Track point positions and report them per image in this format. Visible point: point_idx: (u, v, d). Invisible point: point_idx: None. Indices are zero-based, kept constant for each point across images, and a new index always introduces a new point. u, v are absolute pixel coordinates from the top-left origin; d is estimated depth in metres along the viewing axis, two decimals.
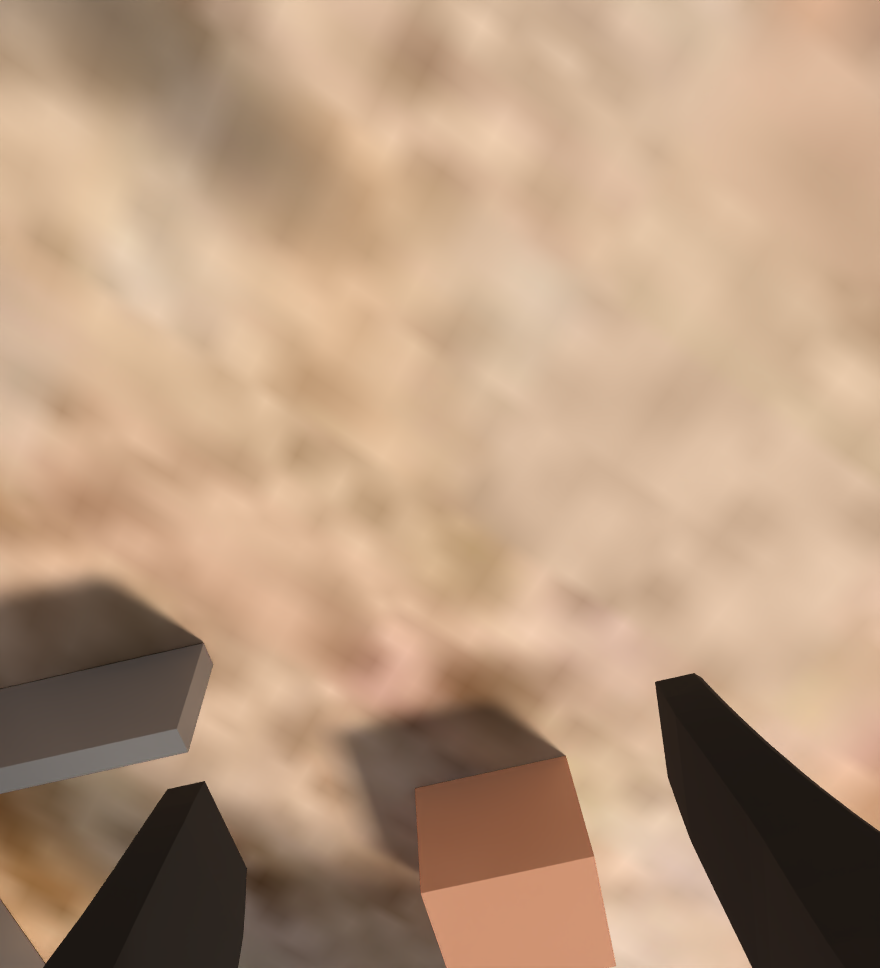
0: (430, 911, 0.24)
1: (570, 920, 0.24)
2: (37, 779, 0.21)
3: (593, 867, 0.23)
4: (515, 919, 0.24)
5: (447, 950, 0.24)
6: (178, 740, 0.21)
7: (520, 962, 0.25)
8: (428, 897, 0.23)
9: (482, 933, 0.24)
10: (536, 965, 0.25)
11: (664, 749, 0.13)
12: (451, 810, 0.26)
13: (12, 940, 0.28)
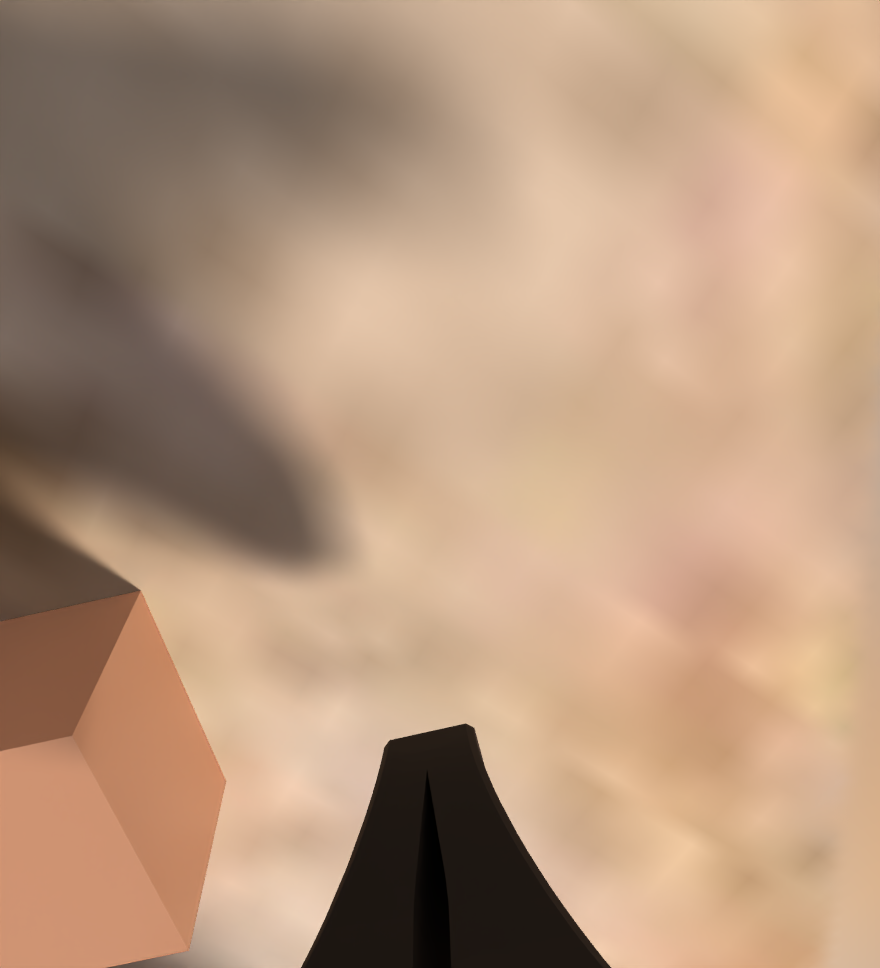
0: None
1: (72, 865, 0.13)
2: None
3: (77, 758, 0.12)
4: None
5: None
6: None
7: (6, 943, 0.14)
8: None
9: None
10: (38, 947, 0.14)
11: None
12: None
13: None
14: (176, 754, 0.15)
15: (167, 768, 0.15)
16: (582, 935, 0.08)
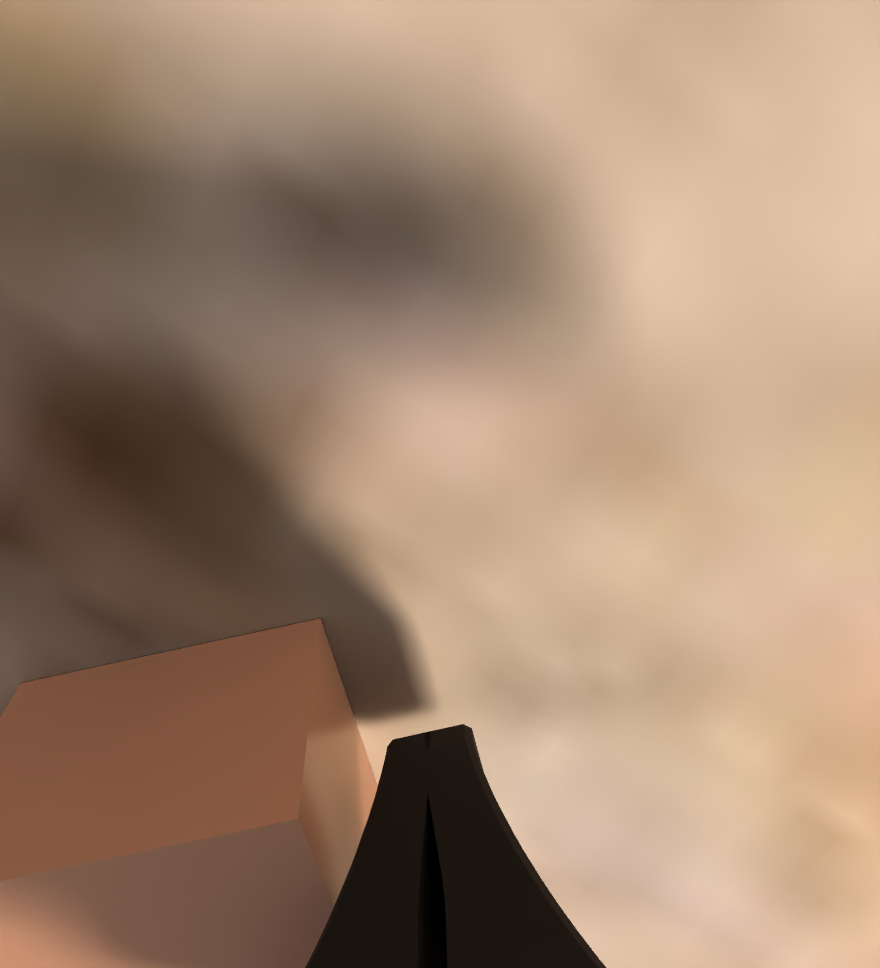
0: None
1: None
2: None
3: (301, 846, 0.10)
4: (142, 965, 0.10)
5: None
6: None
7: None
8: None
9: None
10: None
11: None
12: (58, 726, 0.12)
13: None
14: (362, 818, 0.13)
15: (359, 837, 0.12)
16: (578, 936, 0.08)
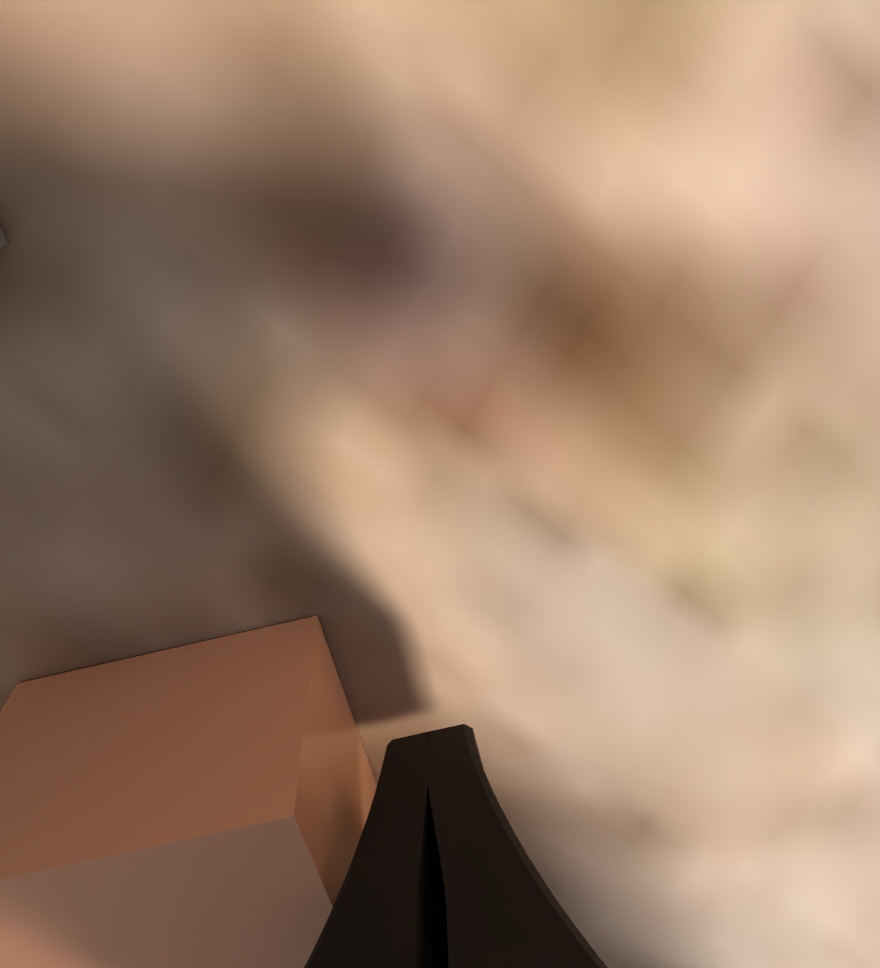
0: None
1: (272, 967, 0.11)
2: None
3: (297, 843, 0.10)
4: (140, 963, 0.10)
5: None
6: None
7: None
8: None
9: None
10: None
11: None
12: (54, 726, 0.12)
13: None
14: (361, 815, 0.13)
15: (358, 835, 0.12)
16: (579, 935, 0.08)
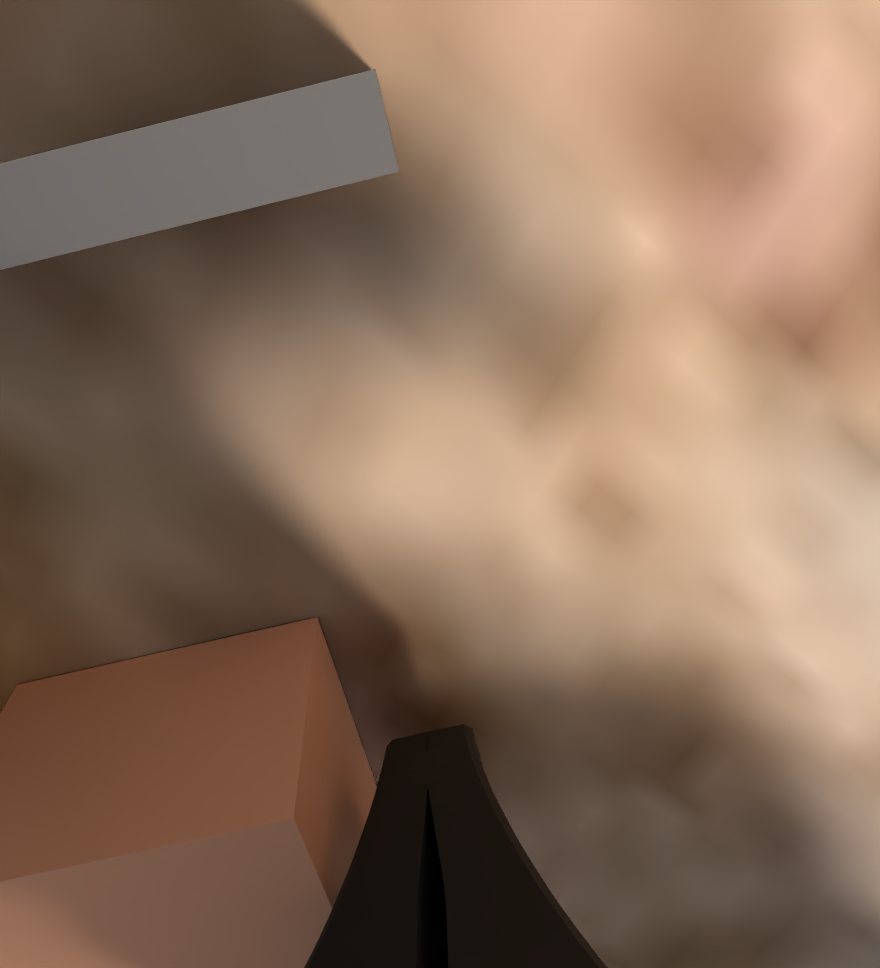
0: None
1: None
2: None
3: (297, 845, 0.10)
4: (139, 965, 0.10)
5: None
6: (375, 119, 0.07)
7: None
8: None
9: None
10: None
11: None
12: (55, 727, 0.12)
13: None
14: (361, 817, 0.13)
15: (358, 837, 0.12)
16: (579, 936, 0.08)
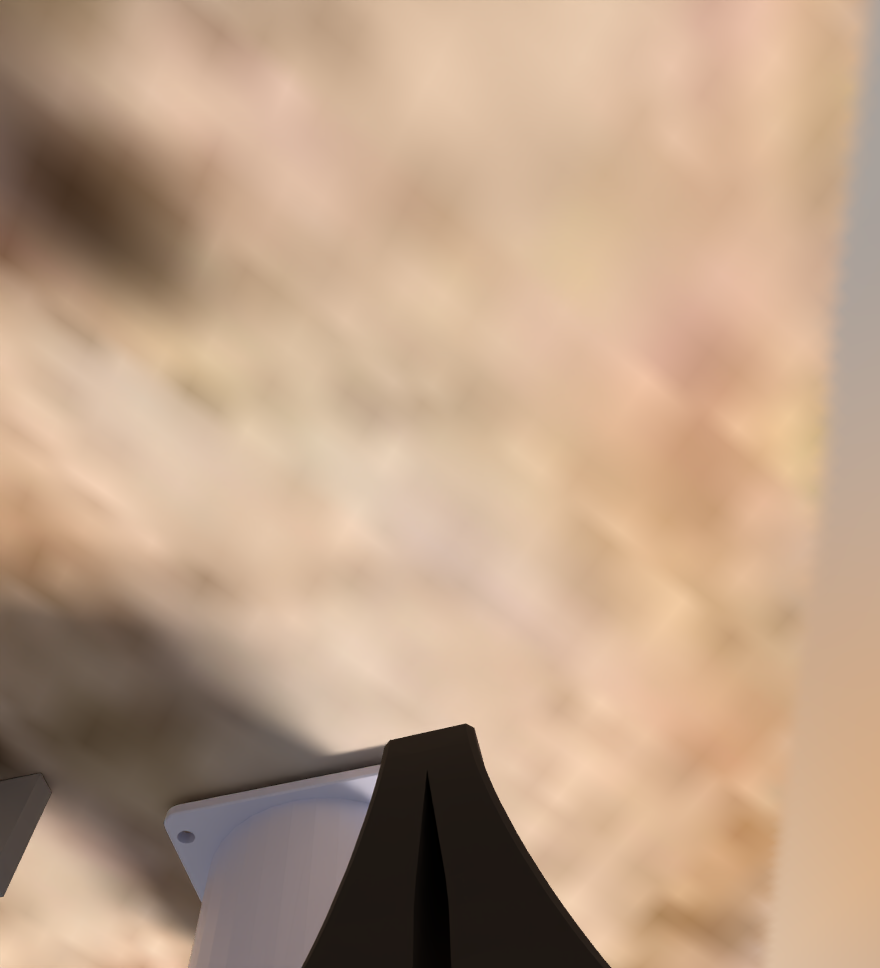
0: None
1: None
2: None
3: None
4: None
5: None
6: None
7: None
8: None
9: None
10: None
11: None
12: None
13: None
14: None
15: None
16: (582, 935, 0.08)
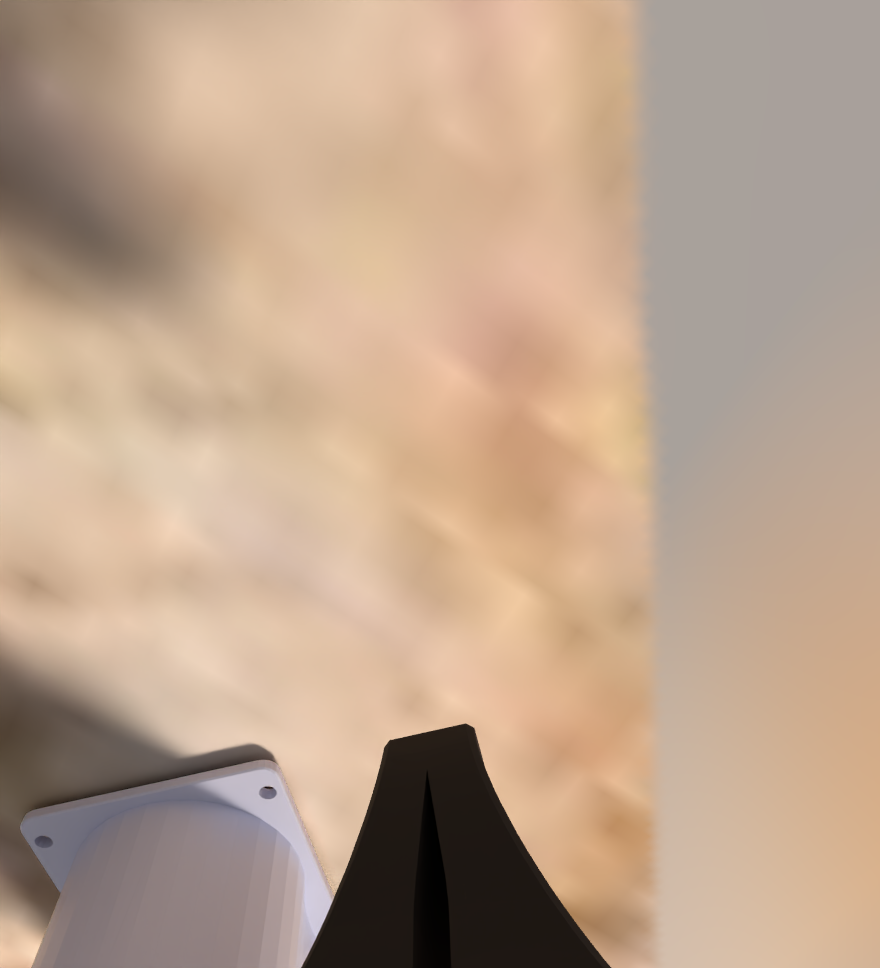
0: None
1: None
2: None
3: None
4: None
5: None
6: None
7: None
8: None
9: None
10: None
11: None
12: None
13: None
14: None
15: None
16: (582, 935, 0.08)
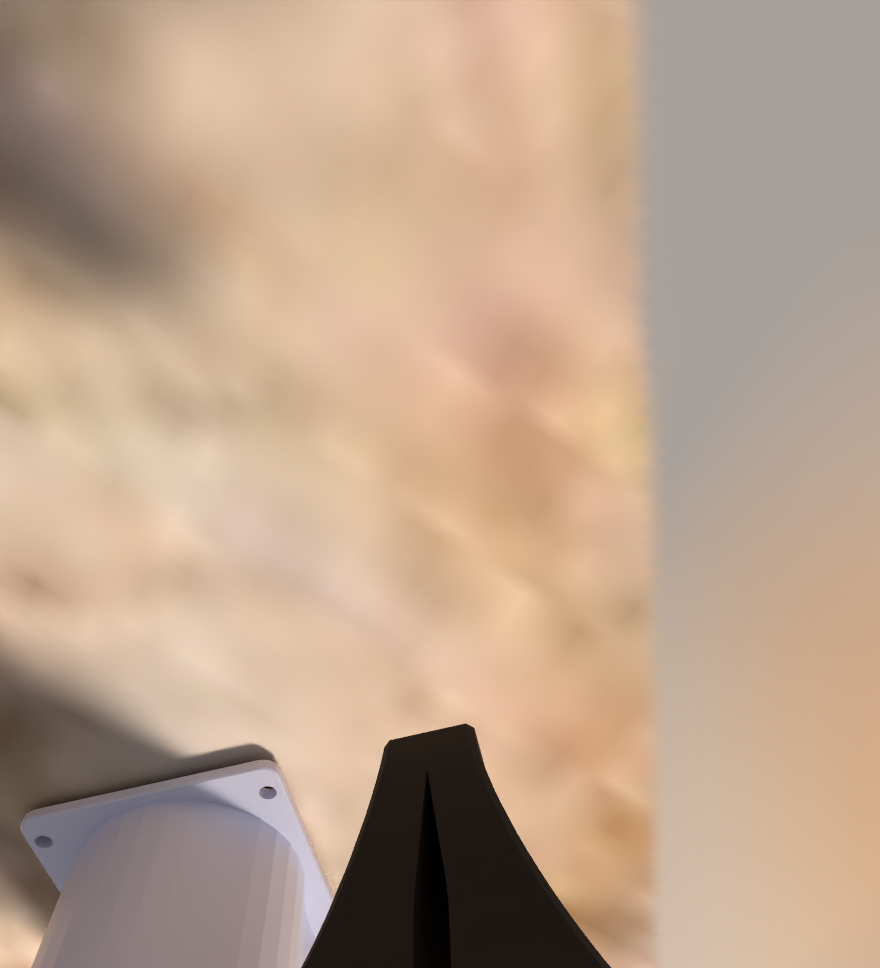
0: None
1: None
2: None
3: None
4: None
5: None
6: None
7: None
8: None
9: None
10: None
11: None
12: None
13: None
14: None
15: None
16: (582, 935, 0.08)
